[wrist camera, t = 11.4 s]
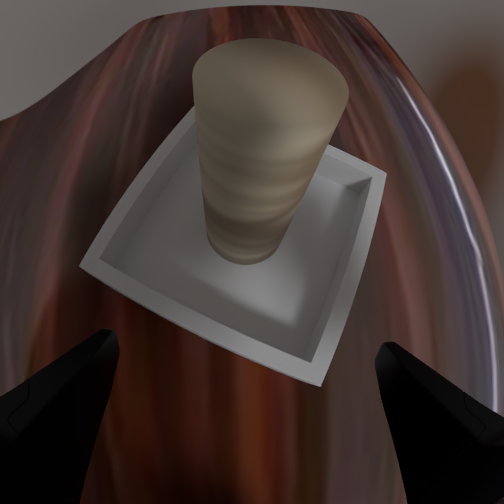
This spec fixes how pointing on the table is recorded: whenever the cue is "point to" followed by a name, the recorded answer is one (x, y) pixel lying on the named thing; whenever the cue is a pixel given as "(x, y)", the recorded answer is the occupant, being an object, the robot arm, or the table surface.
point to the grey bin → (243, 276)
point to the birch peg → (260, 138)
